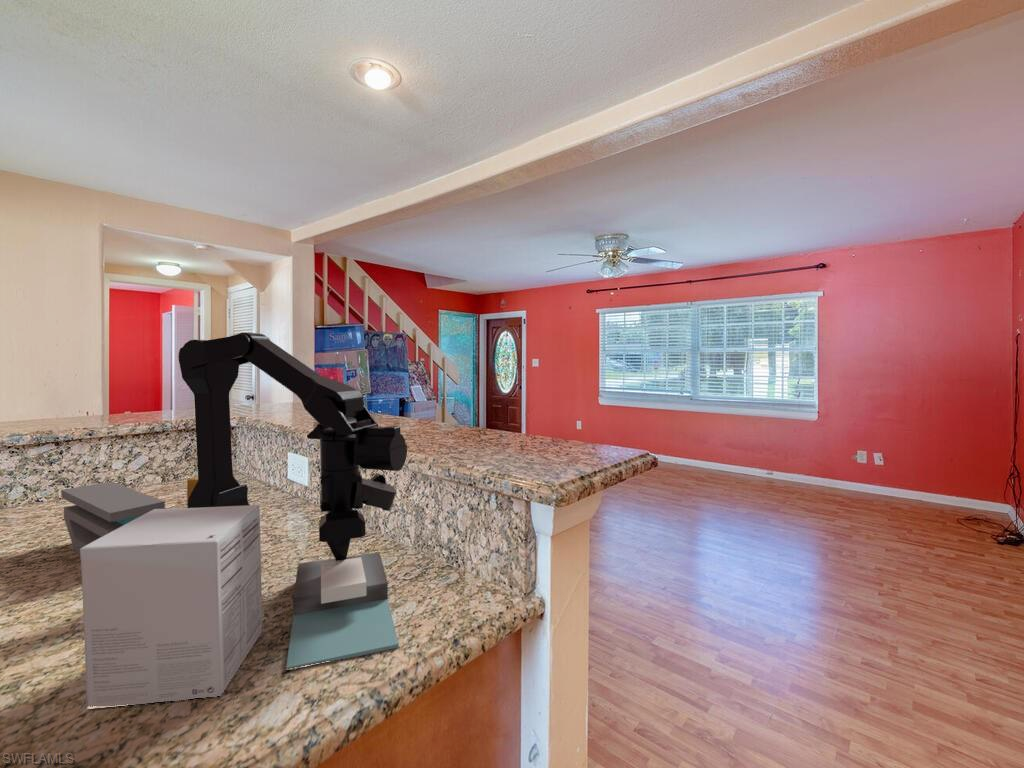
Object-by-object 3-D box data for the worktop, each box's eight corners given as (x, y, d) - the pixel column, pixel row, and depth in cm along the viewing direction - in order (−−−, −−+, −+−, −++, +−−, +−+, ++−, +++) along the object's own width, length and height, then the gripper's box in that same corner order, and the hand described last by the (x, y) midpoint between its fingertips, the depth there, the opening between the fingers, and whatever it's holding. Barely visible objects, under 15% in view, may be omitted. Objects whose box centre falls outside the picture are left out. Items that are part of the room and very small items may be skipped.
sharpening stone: (166, 560, 85) (164, 501, 85) (112, 576, 79) (110, 513, 78) (113, 532, 99) (111, 481, 98) (63, 544, 92) (61, 489, 91)
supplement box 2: (199, 524, 103) (198, 479, 103) (186, 523, 104) (185, 478, 104) (212, 519, 107) (211, 476, 106) (199, 518, 107) (198, 475, 107)
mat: (286, 671, 55) (286, 667, 55) (293, 618, 66) (293, 615, 66) (398, 647, 60) (398, 643, 60) (387, 602, 71) (387, 598, 71)
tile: (321, 603, 65) (321, 589, 64) (321, 575, 73) (320, 563, 73) (366, 595, 67) (366, 582, 67) (361, 569, 75) (361, 557, 75)
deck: (293, 618, 66) (293, 598, 66) (298, 581, 77) (298, 563, 77) (387, 602, 71) (387, 582, 71) (379, 568, 82) (379, 552, 82)
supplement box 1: (265, 629, 64) (262, 503, 63) (221, 699, 51) (217, 540, 50) (157, 638, 61) (152, 507, 61) (82, 713, 48) (75, 548, 48)
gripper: (400, 476, 68) (401, 580, 69) (385, 452, 86) (386, 536, 86) (318, 483, 64) (320, 594, 65) (319, 457, 81) (321, 544, 82)
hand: (341, 563), depth 75 cm, fingers closed
